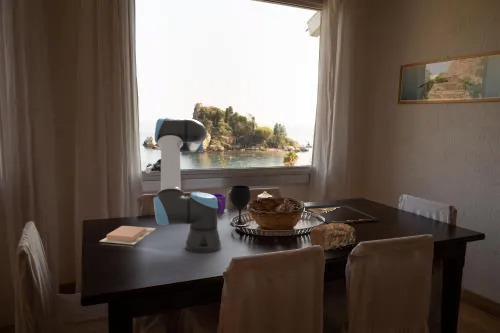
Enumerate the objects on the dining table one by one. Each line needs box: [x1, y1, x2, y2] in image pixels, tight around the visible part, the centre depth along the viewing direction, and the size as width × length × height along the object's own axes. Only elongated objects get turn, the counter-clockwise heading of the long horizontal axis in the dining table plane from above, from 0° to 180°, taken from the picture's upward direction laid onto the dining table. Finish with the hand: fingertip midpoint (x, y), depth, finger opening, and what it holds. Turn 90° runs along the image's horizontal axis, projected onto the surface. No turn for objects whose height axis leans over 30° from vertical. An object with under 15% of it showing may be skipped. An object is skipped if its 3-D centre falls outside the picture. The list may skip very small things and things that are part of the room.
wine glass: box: [229, 184, 251, 227], centre depth 199 cm, size 10×10×20 cm
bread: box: [309, 223, 357, 251], centre depth 171 cm, size 19×11×10 cm, turn 120°
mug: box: [210, 193, 227, 215], centre depth 221 cm, size 17×11×10 cm, turn 22°
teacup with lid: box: [257, 191, 273, 200], centre depth 231 cm, size 12×9×12 cm
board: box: [99, 225, 157, 248], centre depth 175 cm, size 24×16×1 cm, turn 171°
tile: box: [106, 225, 146, 242], centre depth 173 cm, size 2×12×14 cm
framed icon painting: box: [304, 204, 378, 224], centre depth 225 cm, size 38×35×3 cm
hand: (147, 170), depth 189 cm, fingers closed
